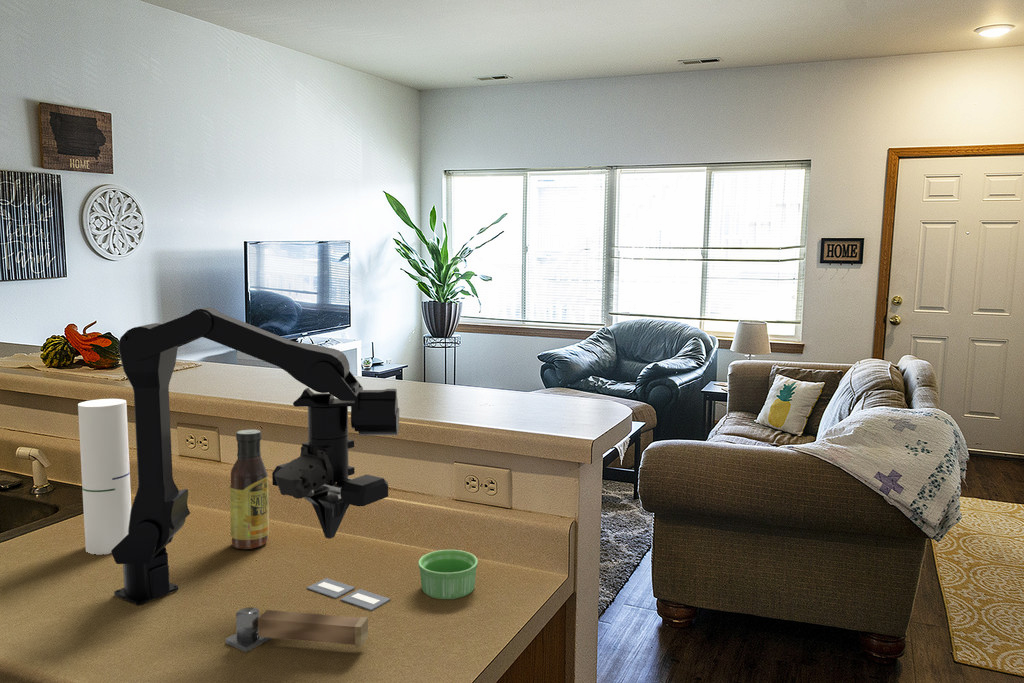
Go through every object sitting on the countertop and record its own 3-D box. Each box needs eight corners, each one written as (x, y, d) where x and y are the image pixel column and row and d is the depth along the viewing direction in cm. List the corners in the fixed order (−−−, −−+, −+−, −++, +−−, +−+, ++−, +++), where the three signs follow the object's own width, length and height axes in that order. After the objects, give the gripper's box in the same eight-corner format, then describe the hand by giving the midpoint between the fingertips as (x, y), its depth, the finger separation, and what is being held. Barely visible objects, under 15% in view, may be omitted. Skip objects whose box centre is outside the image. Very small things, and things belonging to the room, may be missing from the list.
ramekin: (444, 571, 120) (444, 544, 120) (489, 586, 115) (489, 558, 114) (405, 591, 113) (405, 563, 112) (452, 607, 108) (452, 578, 107)
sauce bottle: (257, 552, 126) (253, 437, 124) (223, 549, 128) (219, 435, 125) (276, 538, 133) (274, 428, 131) (244, 535, 134) (241, 426, 132)
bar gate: (257, 637, 96) (257, 618, 95) (267, 627, 98) (266, 608, 98) (361, 646, 94) (360, 626, 93) (368, 636, 96) (367, 617, 96)
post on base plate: (225, 643, 97) (224, 614, 96) (251, 630, 100) (250, 602, 100) (245, 652, 95) (244, 622, 94) (271, 638, 98) (270, 610, 98)
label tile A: (306, 588, 113) (306, 586, 113) (326, 579, 116) (326, 577, 116) (335, 598, 110) (335, 596, 110) (355, 588, 113) (355, 586, 113)
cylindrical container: (141, 544, 129) (135, 401, 127) (100, 557, 123) (92, 408, 121) (118, 535, 133) (111, 397, 131) (77, 548, 127) (69, 403, 125)
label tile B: (340, 600, 109) (340, 598, 109) (359, 590, 113) (359, 588, 113) (371, 610, 106) (371, 609, 106) (390, 600, 109) (390, 598, 109)
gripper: (240, 437, 108) (243, 541, 110) (333, 456, 99) (335, 570, 100) (300, 423, 118) (302, 519, 120) (390, 439, 108) (391, 544, 110)
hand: (329, 537), depth 112 cm, fingers closed
